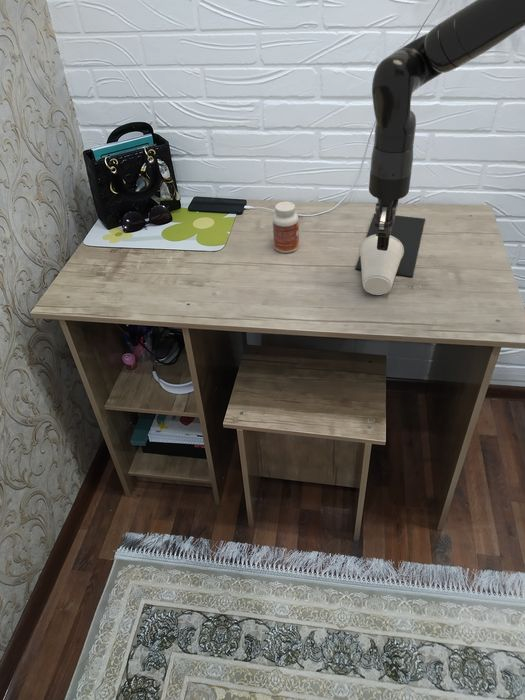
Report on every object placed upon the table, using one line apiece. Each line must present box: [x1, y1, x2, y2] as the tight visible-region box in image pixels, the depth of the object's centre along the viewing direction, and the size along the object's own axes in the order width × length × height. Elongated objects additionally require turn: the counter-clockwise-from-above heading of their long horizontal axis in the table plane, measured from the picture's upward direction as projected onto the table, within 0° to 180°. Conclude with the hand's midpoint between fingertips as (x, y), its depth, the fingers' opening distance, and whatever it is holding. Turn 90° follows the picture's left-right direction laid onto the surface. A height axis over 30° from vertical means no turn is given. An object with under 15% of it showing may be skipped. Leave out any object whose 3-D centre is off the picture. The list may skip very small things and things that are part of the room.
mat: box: [354, 212, 426, 278], centre depth 139 cm, size 26×13×1 cm, turn 162°
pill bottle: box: [272, 201, 300, 254], centre depth 137 cm, size 6×6×11 cm
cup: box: [358, 234, 404, 296], centre depth 125 cm, size 10×10×11 cm
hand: (382, 248), depth 117 cm, fingers closed
